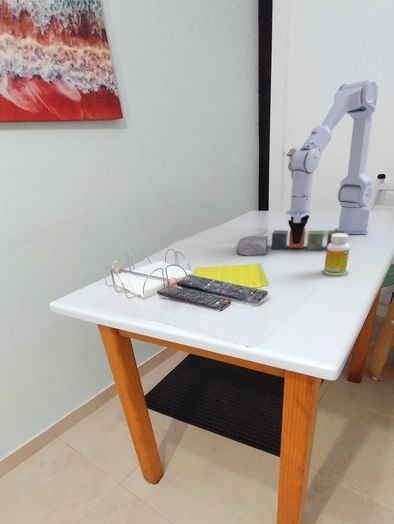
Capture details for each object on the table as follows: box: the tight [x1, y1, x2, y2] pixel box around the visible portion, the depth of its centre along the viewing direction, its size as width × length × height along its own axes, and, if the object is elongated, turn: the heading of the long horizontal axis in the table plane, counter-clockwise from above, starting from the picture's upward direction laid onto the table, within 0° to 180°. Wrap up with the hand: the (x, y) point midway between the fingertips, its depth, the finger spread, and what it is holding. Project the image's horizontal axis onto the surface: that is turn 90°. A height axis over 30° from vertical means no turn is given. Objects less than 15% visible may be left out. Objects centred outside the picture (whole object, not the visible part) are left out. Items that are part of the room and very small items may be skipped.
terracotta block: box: [288, 227, 306, 248], centre depth 109 cm, size 4×4×5 cm
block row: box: [271, 229, 344, 251], centre depth 108 cm, size 21×4×5 cm, turn 70°
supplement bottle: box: [323, 233, 351, 277], centre depth 87 cm, size 5×5×10 cm
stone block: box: [236, 234, 269, 257], centre depth 111 cm, size 12×5×10 cm
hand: (297, 241), depth 109 cm, fingers closed on terracotta block, 4 cm apart
